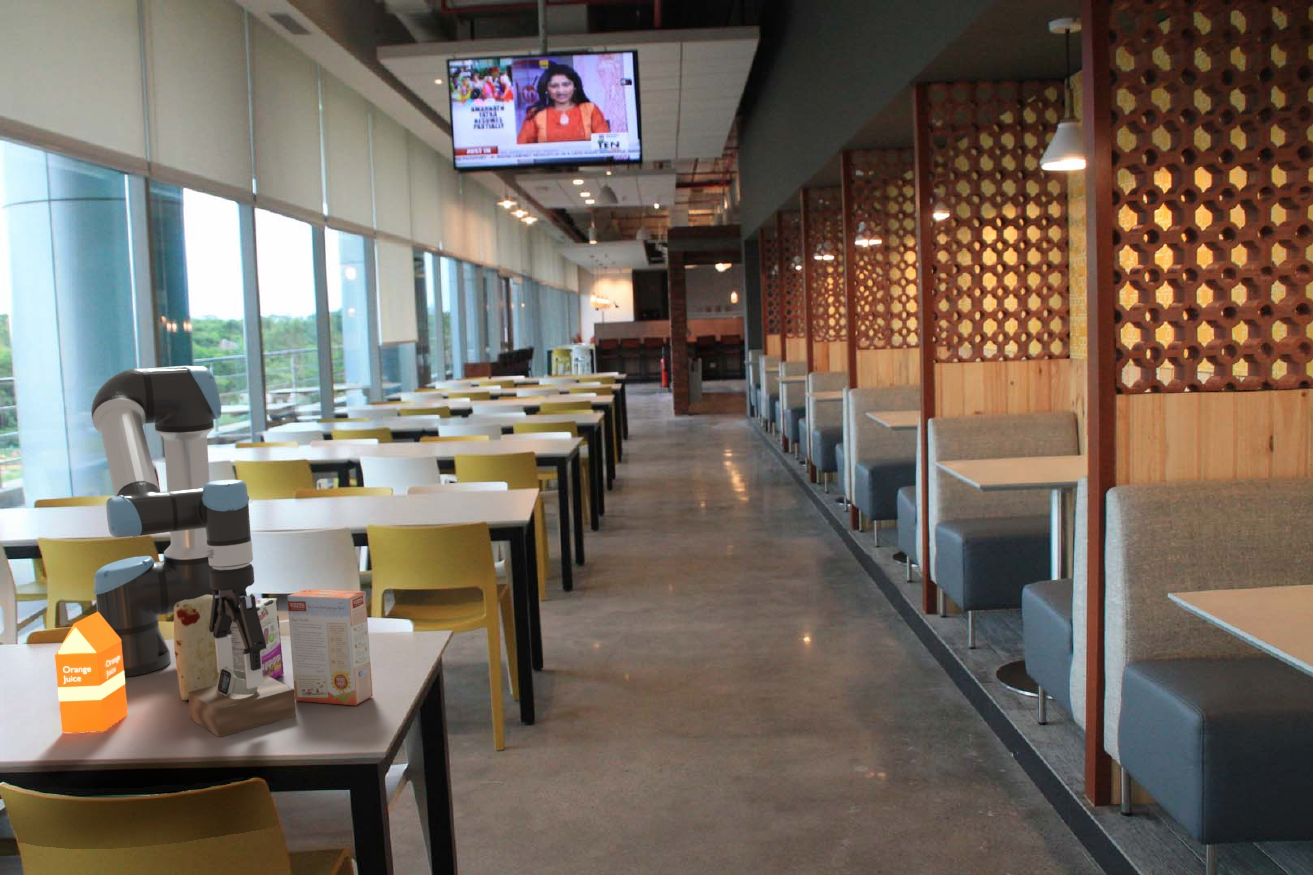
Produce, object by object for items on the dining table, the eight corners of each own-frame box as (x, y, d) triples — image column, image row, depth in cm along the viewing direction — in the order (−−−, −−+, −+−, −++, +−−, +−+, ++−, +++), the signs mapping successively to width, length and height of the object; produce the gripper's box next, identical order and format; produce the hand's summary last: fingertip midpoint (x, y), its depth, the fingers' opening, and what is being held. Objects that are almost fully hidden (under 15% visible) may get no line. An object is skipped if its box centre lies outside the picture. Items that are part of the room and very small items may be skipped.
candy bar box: (262, 674, 219) (256, 597, 218) (284, 675, 218) (278, 597, 217) (231, 692, 208) (224, 611, 207) (254, 693, 207) (247, 611, 206)
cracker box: (374, 696, 203) (367, 590, 201) (355, 707, 197) (348, 597, 195) (313, 691, 207) (306, 587, 205) (293, 701, 202) (285, 594, 200)
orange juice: (61, 733, 189) (50, 625, 187) (87, 716, 198) (77, 612, 196) (104, 731, 189) (94, 623, 187) (129, 714, 198) (119, 610, 196)
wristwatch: (209, 691, 194) (207, 665, 193) (241, 681, 199) (239, 656, 198) (236, 700, 188) (234, 673, 188) (268, 690, 193) (266, 664, 192)
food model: (193, 706, 201) (185, 603, 199) (169, 702, 204) (160, 601, 202) (234, 690, 210) (226, 591, 208) (210, 686, 213) (202, 589, 211)
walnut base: (190, 718, 194) (188, 692, 194) (264, 698, 204) (262, 673, 203) (219, 737, 184) (217, 709, 184) (296, 715, 194) (294, 688, 193)
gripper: (185, 560, 198) (194, 669, 200) (237, 578, 180) (247, 699, 182) (225, 553, 203) (233, 660, 205) (280, 570, 185) (289, 688, 187)
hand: (240, 678), depth 193 cm, fingers open, 13 cm apart
